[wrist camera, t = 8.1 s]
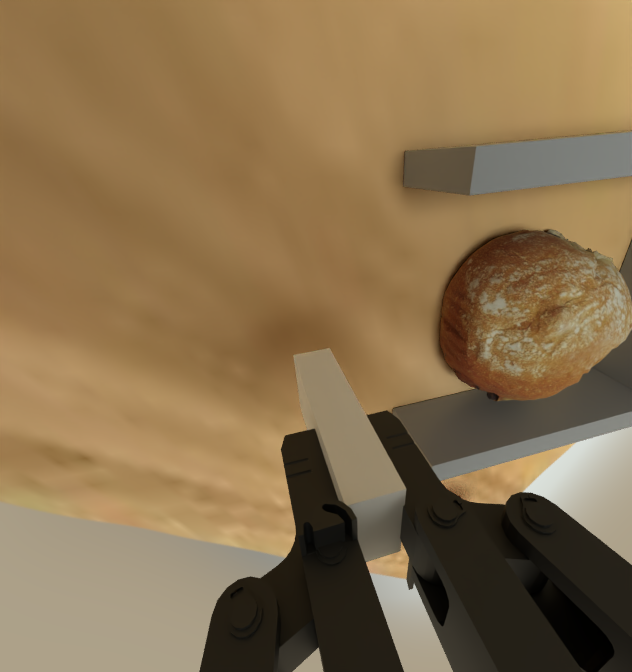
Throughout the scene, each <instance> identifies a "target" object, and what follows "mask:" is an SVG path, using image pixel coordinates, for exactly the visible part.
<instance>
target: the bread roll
mask: <svg viewBox="0 0 632 672" xmlns="http://www.w3.org/2000/svg"><path fill="white" fill-rule="evenodd" d="M441 312H442V316H441V320H440V346H441V348H442V350H443V353H444V358H445V360H446V362H447V363H448V365H449V366H450V367H451V368H452V369H453V370H454V372H455V374H456V375H457V377H458V379H459V380H461V381H463V382H464V383H466V384H468V385H469V386H471V387H474V388H477V389H478V390H481V391H486V392H487V397H488V398H489V399H490V400H493V401H503V400H520V401H524V400H536V399H539V398H541V399H542V398H548V397H550V396H553V395H555V394H557V393H558V392H560V391H562V390H563V389H565V388H566V387H568V386H571V385H573V384H575V383H578V382H579V381H580V379H581V377H582V375H583V374H585V373H588V372H589V371H590V370H591V368H592V367H593V366H594V365H596V364H597V363H599V362H600V361H601V360H602V359H603V358H604V357H605V356H606V355H607V354H608V353H609V352H610V351H611V350H612V349H614V348H617V347H618V346H619V345H620V344H621V343H622V342H624V341H625V340H626V338H627V336H628V335H629V333H630V331H631V330H632V301H631V295H630V292H629V289H628V287H627V285H626V282H625V280H624V278H623V276H622V274H621V273H620V272H619V271H618V270H617V268H616V266H615V265H614V264H613V261H612V258H609V257H606V256H603V255H601V254H599V253H598V252H597V251H594V252H592V251H591V249H589V248H588V249H587V250H585V249H584V248H582V247H581V246H580V245H578V244H577V243H575V242H571V241H568V239H565V238H564V237H563V235H562V234H561V233H559V232H558V231H555V230H549V231H548V232H547V233H546V232H543V231H528V230H522V231H519V232H516V233H512V234H508V235H504V236H500V237H497V238H495V239H493V240H491V241H490V242H488V243H487V244H485V245H484V246H482V247H480V248H479V249H478V250H477V251H475V252H474V253H473V254H472V255H471V256H470V257H469V258H468V259H467V260H466V261H465V262H464V263H463V265H462V266H461V267H460V269H459V270H458V271H457V273H456V274H455V276H454V277H453V278H452V280H451V282H450V284H449V286H448V287H447V289H446V291H445V293H444V298H443V306H442V309H441Z"/></svg>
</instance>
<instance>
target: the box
mask: <svg viewBox="0 0 632 672" xmlns="http://www.w3.org/2000/svg"><path fill="white" fill-rule="evenodd" d="M627 176H632V130H631V131H620V132H609V133H598V134H587V135H576V136H565V137H554V138H543V139H532V140H521V141H510V142H499V143H488V144H477V145H466V146H455V147H444V148H433V149H422V150H411V151H405V161H404V183H403V187H410V188H418V189H425V190H433V191H440V192H448V193H455V194H463V195H477V194H486V193H494V192H502V191H510V190H519V189H527V188H535V187H544V186H552V185H560V184H569V183H577V182H585V181H594V180H602V179H610V178H618V177H627ZM620 273H621V274H622V276H623V278H624V280H625V282H626V285H627V287H628V289H629V292H630V295H631V301H632V242H631V244H630V247H629V249H628V252H627V255H626V257H625V260H624V262H623V265H622V268H621V270H620ZM393 415H394V416H395V417H397V418H398V419H400V421H401V422H402V424H403V425H404V427H405V428H406V430H407V431H408V434H409V435H410V436H411V438H412V439H413V441H414V443H415V444H416V445H417V447H418V448H419V450H420V451H421V453H422V454H423V456H424V457H425V459H426V460H427V462H428V463H429V465H430V466H431V468H432V469H433V471H434V472H435V474H436V475H437V477H438V478H439V480H440V481H442V480H445V479H449V478H452V477H456V476H459V475H463V474H466V473H470V472H473V471H477V470H480V469H484V468H487V467H491V466H494V465H498V464H501V463H505V462H508V461H512V460H516V459H519V458H523V457H526V456H530V455H533V454H537V453H540V452H544V451H547V450H551V449H554V448H558V447H561V446H565V445H568V444H572V443H575V442H579V441H582V440H586V439H589V438H593V437H596V436H599V435H603V434H607V433H610V432H613V431H617V430H621V429H624V428H628V427H631V426H632V330H631V331H630V333H629V335H628V336H627V338H626V340H625V341H624V342H622V343H621V344H620V345H619V346H618V347H617V348H614V349H612V350H611V351H610V352H609V353H608V354H607V355H606V356H605V357H604V358H603V359H602V360H601V361H600V362H599V363H597V364H596V365H594V366H593V367H592V368H591V370H590V371H589V372H588V373H585V374H583V375H582V377H581V379H580V381H579V382H578V383H575V384H573V385H571V386H568V387H566V388H565V389H563V390H562V391H560V392H558V393H557V394H555V395H553V396H550V397H548V398H542V399H541V398H539V399H536V400H524V401H520V400H503V401H493V400H490V399H489V398H488V397H487V392H486V391H481V390H478V389H474V390H469V391H465V392H461V393H457V394H453V395H448V396H444V397H440V398H436V399H431V400H427V401H423V402H419V403H414V404H410V405H406V406H402V407H397V408H393Z"/></svg>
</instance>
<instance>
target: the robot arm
mask: <svg viewBox="0 0 632 672" xmlns="http://www.w3.org/2000/svg"><path fill="white" fill-rule="evenodd" d="M293 356H294V364H295V371H296V379H297V386H298V394H299V402H300V408H301V411H302V415H303V418H304V421H305V425H306V428H307V431H302V432H298V433H294V434H290V435H286V436H285V437H284V441H283V444H282V448H281V452H282V457H283V463H284V468H285V473H286V479H287V484H288V489H289V494H290V500H291V505H292V510H293V515H294V520H295V526H296V536H295V542H294V544H293V547H292V549H291V551H290V553H289V554H288V555H287V557H286V558H285V559H284V560H283V561H282V562H281V563H280V564H279V565H278V566H276V567H275V568H274V569H272V570H271V571H270V572H268V573H267V574H266V575H264V576H263V577H262V578H255V577H247V578H243V579H239V580H237V581H236V582H234V583H233V584H232V585H230V586H229V587H227V589H226V590H225V591H224V592H223V594H222V595H221V596H220V598H219V599H218V600H217V603H216V606H215V609H214V611H213V614H212V617H211V622H210V626H209V631H208V636H207V640H206V644H205V649H204V654H203V658H202V663H201V667H200V672H292V671H293V670H294V669H296V667H298V666H299V665H300V664H301V663H302V662H303V661H304V660H305V659H306V658H307V657H309V656H310V655H311V654H312V653H313V652H314V651H315V650H316V649H317V648H318V647H319V651H320V655H321V661H322V666H323V671H324V672H404V671H403V668H402V665H401V662H400V659H399V656H398V653H397V650H396V648H395V645H394V642H393V639H392V636H391V633H390V630H389V628H388V625H387V622H386V619H385V616H384V613H383V610H382V607H381V605H380V602H379V599H378V596H377V593H376V590H375V587H374V585H373V582H372V579H371V576H370V573H369V570H368V567H367V565H366V562H367V561H371V560H374V559H377V558H380V557H383V556H386V555H389V554H393V553H396V552H399V551H400V548H401V541H402V543H403V546H404V548H405V550H406V552H407V554H408V556H409V563H408V571H407V583H408V587H409V590H410V589H412V588H413V584H415V586H416V588H417V590H418V592H419V595H420V597H421V599H422V602H423V604H424V606H425V608H426V611H427V613H428V615H429V617H430V620H431V622H432V624H433V627H434V629H435V631H436V633H437V636H438V638H439V640H440V643H441V645H442V647H443V649H444V652H445V654H446V656H447V658H448V661H449V663H450V665H451V668H452V670H453V672H632V565H631V564H630V563H628V562H627V561H626V560H625V559H623V558H622V557H621V556H619V555H618V554H617V553H616V552H615V551H613V550H612V549H611V548H609V547H608V546H607V545H606V544H605V543H603V542H602V541H601V540H599V539H598V538H597V537H596V536H594V535H593V534H592V533H590V532H589V531H588V530H587V529H586V528H584V527H583V526H582V525H580V524H579V523H578V522H577V521H575V520H574V519H573V518H572V517H570V516H569V515H568V514H567V513H565V512H564V511H563V510H562V509H560V508H559V507H558V506H557V505H555V504H554V503H552V502H551V501H549V500H547V499H545V498H544V497H542V496H539V495H536V494H533V493H524V492H520V493H517V494H514V495H511V497H510V498H509V499H508V501H507V502H506V505H503V504H484V503H474V502H469V501H466V500H463V499H461V497H459V496H458V495H456V494H454V493H452V492H451V491H449V490H447V489H446V488H445V486H444V485H443V484H442V483H441V481H440V480H439V478H438V477H437V475H436V474H435V472H434V471H433V469H432V468H431V466H430V465H429V463H428V462H427V460H426V459H425V457H424V456H423V454H422V453H421V451H420V450H419V448H418V447H417V445H416V444H415V443H414V441H413V439H412V438H411V436H410V435H409V434H408V431H407V430H406V428H405V427H404V425H403V424H402V422H401V421H400V419H398V418H397V417H395V416H394V415H393V414H391V413H390V412H388V411H383V412H378V413H374V414H370V415H366V414H365V412H364V410H363V408H362V406H361V405H360V403H359V401H358V399H357V397H356V395H355V394H354V392H353V390H352V388H351V386H350V384H349V382H348V381H347V379H346V377H345V375H344V373H343V371H342V370H341V368H340V366H339V364H338V362H337V360H336V359H335V357H334V355H333V353H332V351H331V349H330V348H327V349H322V350H316V351H311V352H306V353H301V354H296V355H293Z"/></svg>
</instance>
